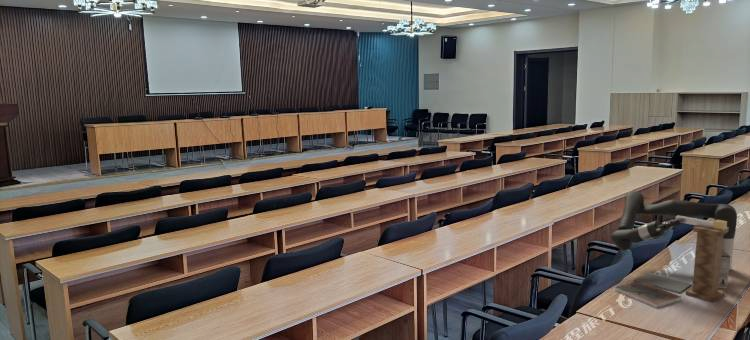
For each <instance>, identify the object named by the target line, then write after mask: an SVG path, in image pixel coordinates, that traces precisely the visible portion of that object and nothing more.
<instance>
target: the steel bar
mask: <svg viewBox="0 0 750 340" xmlns="http://www.w3.org/2000/svg"><path fill="white" fill-rule="evenodd" d="M674 219H675V221H676V220H679V221H680V223H681V224H687V225H693V226H696V225H697V226H702V227H708V228H713V229H716V230H722V231H724V230H725V229H726V228H727V221H723V220H715V219H714V221H713V220H706V219H703V218H702V219H701V218H697V217H696V218H690V217H684V216H679V215H677V216H676V217H674Z"/></svg>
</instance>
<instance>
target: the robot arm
mask: <svg viewBox="0 0 750 340" xmlns="http://www.w3.org/2000/svg"><path fill="white" fill-rule="evenodd" d="M637 215H653V216H654V215H655V216H665V217H670V218H671V217H672V219H670V220H665V221H662V222H661V221H659V220H654V221H650V222H647V223H646V224H642V225H641V226H638V227H635V223H636V218H637ZM677 215H679V216H684V217H690V218H696V219H697V218H706V219H708V218H709V219H712V220H713V219H714V221H715V220H723V221H727V227H729V230H728V232H727V233H726V234H724V235H723V245H722V250H724V251H725V252H726V253H727V254H728V255H729V256H730V264H729V272H730V271H732V265H733V257H734V256H733V255H734V246H735V236H736V232H737V231H736V230H737V222H738V221H737V220H738V213H737V210H736V208H735V207H733V206H732V205H730V204H729V203H728V204H727V203H702V202H696V201H691V200H690V201H689V200H684V199H681V200H680V199H668V200H664V201H661V202H659V203H655V204H654V203H653V204H652V203H651V204H649V203H645V199H644V195H643V194H642V193H641V192H639V191H636V190H635V191H633V190H632V191H629V192H627V194H626V195H625V199H624V208H623V212H622V215H621V218H620V219H619V222H618V226H617V228H616V229H617V230H616V231H613V232H612V233H611V234H610V236H609V237H610V240H611V242H612V243H613V245H615V246H616V247H617V248H618V249H619V250H620V251H625V252H626V251H628V250H629V249H630V248H631V247H632V245H633V243H635V244H637V243H641V242H644V241H650V240H654V239H656V238H659V237H663V236H664V235H665V232H666V231H668V230H672V228H674V227H676V226H679V225H681V224H682V223H680V221H679V220H676V221H675V218H676V216H677ZM673 218H674V219H673ZM634 227H635V228H634Z"/></svg>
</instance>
